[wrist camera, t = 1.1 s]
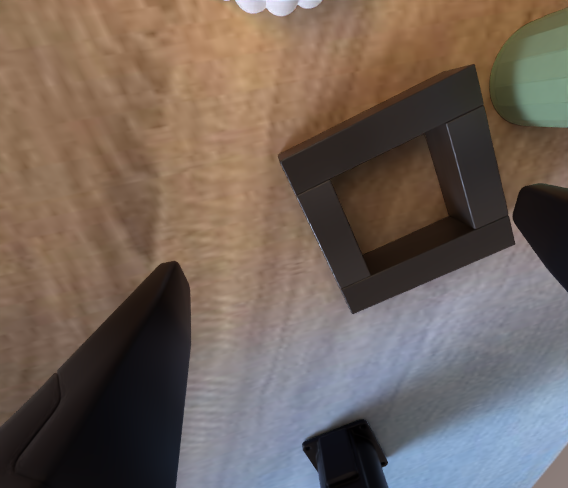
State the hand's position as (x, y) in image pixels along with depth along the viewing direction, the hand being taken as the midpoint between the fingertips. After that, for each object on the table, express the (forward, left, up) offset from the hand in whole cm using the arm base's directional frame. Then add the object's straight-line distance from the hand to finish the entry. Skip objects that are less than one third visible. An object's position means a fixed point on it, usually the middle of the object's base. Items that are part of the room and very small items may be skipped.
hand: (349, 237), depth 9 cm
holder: (-5, -5, -14) cm, 16 cm away
